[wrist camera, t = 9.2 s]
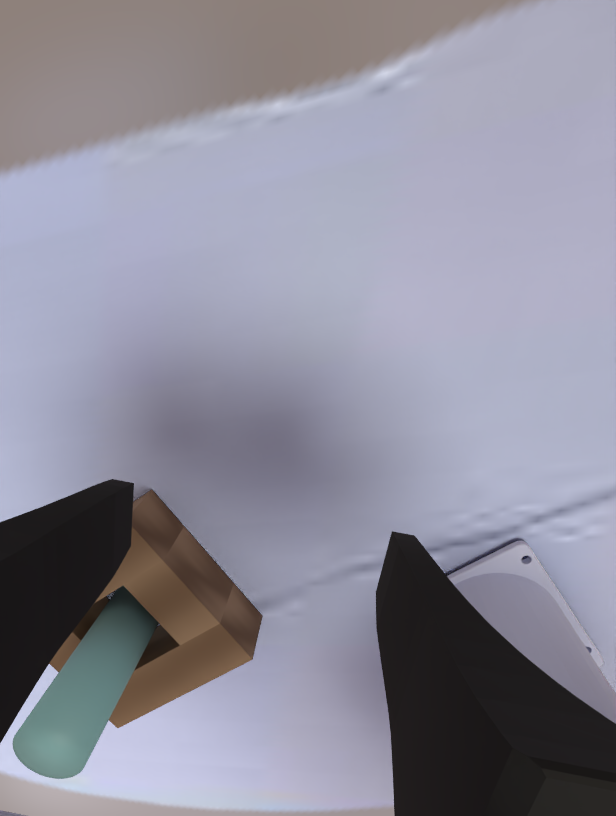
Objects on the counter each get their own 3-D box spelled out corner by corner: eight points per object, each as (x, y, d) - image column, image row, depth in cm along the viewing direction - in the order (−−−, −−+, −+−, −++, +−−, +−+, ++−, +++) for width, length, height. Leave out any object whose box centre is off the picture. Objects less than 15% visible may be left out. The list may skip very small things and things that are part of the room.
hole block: (262, 616, 26) (252, 659, 23) (140, 681, 28) (117, 728, 25) (151, 489, 24) (126, 519, 21) (29, 571, 26) (-9, 608, 23)
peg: (180, 600, 26) (101, 763, 17) (143, 620, 27) (49, 787, 18) (148, 563, 25) (49, 714, 17) (111, 585, 26) (-3, 741, 17)
